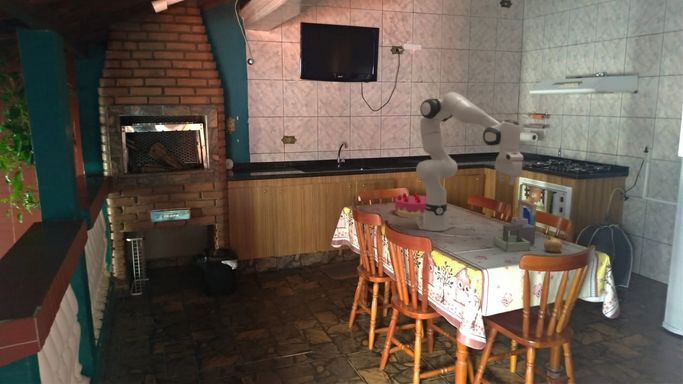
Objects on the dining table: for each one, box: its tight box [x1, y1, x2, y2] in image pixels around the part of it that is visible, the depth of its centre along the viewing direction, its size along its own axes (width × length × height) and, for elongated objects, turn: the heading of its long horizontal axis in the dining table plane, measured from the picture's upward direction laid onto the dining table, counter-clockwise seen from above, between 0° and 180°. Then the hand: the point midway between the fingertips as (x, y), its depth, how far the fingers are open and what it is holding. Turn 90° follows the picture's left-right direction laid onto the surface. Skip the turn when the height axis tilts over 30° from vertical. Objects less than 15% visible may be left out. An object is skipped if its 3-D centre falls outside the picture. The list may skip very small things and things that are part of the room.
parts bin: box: [493, 235, 531, 253], centre depth 247 cm, size 13×12×4 cm
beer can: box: [523, 206, 536, 228], centre depth 267 cm, size 8×8×16 cm
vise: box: [509, 216, 536, 246], centre depth 257 cm, size 14×8×11 cm, turn 9°
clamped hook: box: [516, 199, 537, 219], centre depth 252 cm, size 14×2×13 cm, turn 9°
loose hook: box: [502, 224, 523, 243], centre depth 246 cm, size 2×9×10 cm, turn 100°
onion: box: [543, 236, 563, 253], centre depth 240 cm, size 8×8×7 cm
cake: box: [394, 191, 426, 219], centre depth 323 cm, size 28×28×12 cm
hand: (506, 182), depth 247 cm, fingers open, 8 cm apart
